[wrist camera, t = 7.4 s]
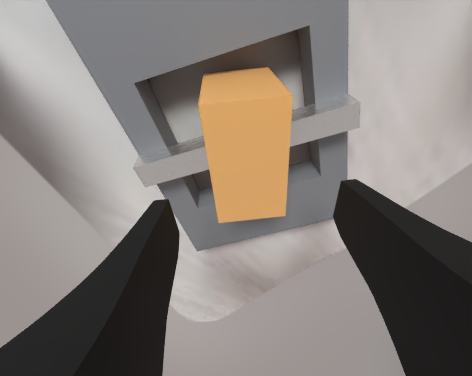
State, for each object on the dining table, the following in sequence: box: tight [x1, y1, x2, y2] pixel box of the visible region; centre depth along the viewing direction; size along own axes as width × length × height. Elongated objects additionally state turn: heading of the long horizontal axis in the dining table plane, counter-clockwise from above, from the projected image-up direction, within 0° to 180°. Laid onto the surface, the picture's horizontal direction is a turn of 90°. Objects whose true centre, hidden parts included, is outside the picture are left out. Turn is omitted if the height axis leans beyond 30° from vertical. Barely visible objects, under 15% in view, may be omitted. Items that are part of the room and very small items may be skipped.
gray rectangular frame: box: [46, 0, 348, 251], centre depth 17 cm, size 14×20×2 cm
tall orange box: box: [198, 67, 293, 223], centre depth 15 cm, size 4×7×6 cm, turn 5°
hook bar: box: [133, 94, 360, 187], centre depth 15 cm, size 14×2×2 cm, turn 106°
